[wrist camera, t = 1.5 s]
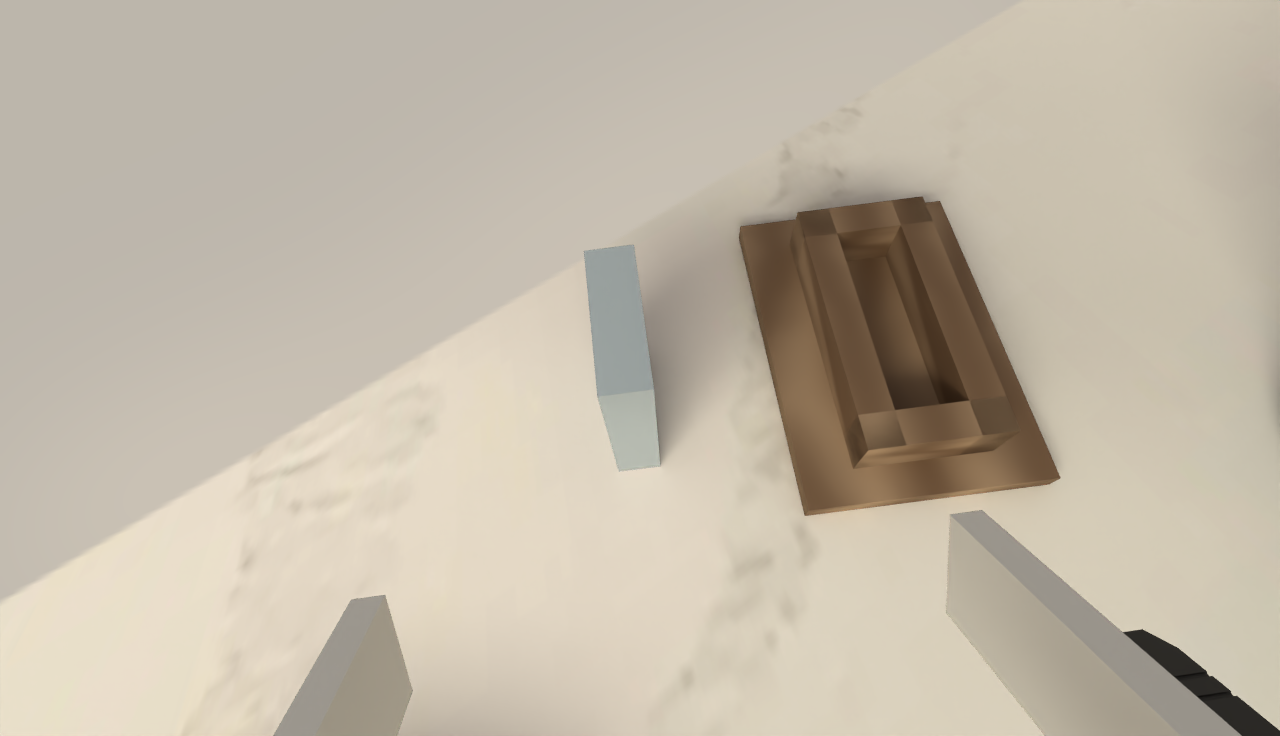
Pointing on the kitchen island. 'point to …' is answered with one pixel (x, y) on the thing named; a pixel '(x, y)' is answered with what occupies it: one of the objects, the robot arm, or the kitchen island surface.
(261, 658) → the kitchen island surface
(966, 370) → the track board
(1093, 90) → the kitchen island surface
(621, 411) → the door panel
